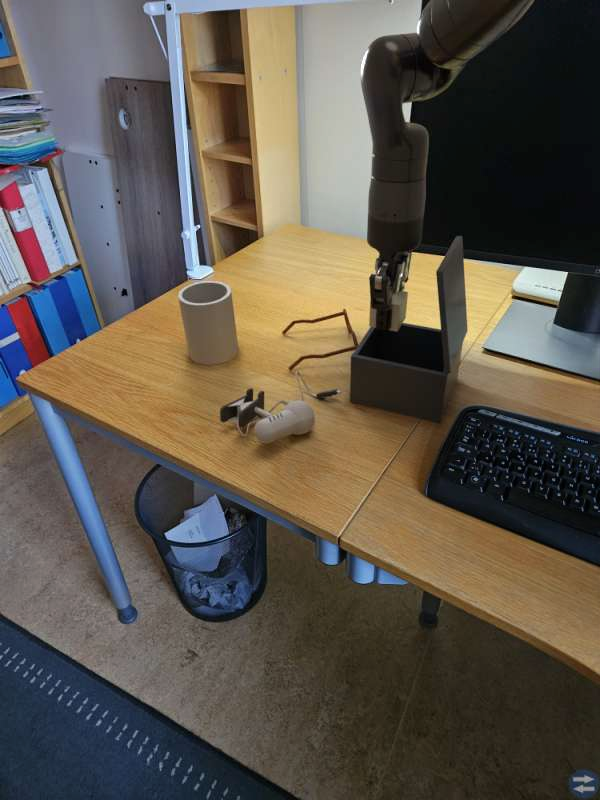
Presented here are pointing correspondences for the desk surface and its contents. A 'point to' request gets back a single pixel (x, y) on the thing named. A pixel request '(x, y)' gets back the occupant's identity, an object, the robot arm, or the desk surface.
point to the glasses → (329, 352)
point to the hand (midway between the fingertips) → (388, 320)
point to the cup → (209, 322)
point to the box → (403, 372)
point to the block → (393, 311)
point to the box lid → (452, 302)
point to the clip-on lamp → (273, 427)
